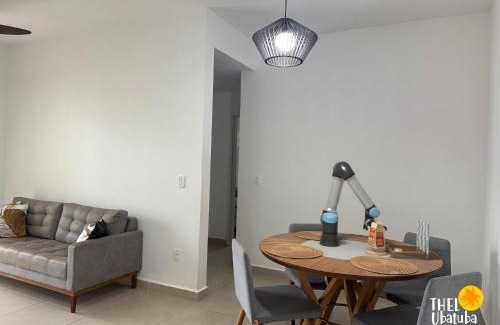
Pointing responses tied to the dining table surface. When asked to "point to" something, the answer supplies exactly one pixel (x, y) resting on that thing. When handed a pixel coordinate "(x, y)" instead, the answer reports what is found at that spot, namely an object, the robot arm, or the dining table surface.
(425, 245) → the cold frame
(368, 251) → the tan round dome
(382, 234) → the milk carton
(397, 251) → the peach rounded knob
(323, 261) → the dining table surface
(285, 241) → the dining table surface
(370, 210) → the robot arm
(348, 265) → the dining table surface
